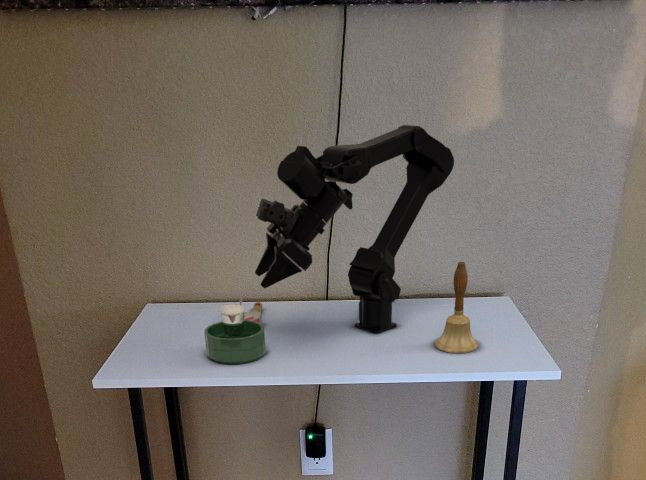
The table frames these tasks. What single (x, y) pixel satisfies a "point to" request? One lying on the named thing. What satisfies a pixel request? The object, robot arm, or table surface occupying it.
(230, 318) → the milkshake
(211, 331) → the bowl
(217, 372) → the table surface
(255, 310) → the paintbrush
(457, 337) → the hand bell
